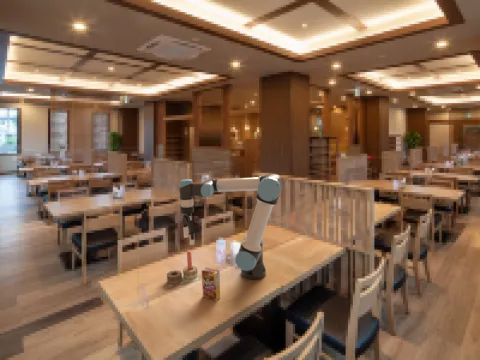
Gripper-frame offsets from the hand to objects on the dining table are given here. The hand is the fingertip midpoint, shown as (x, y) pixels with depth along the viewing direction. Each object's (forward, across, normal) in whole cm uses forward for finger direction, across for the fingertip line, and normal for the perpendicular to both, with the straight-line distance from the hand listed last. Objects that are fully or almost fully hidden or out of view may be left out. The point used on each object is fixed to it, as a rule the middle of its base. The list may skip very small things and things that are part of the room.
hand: (189, 241), depth 174 cm
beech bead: (+22, 0, 0) cm, 23 cm away
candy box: (+23, +26, +4) cm, 35 cm away
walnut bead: (+22, +2, -10) cm, 25 cm away
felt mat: (+23, +1, -5) cm, 24 cm away
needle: (+22, 0, 0) cm, 23 cm away
